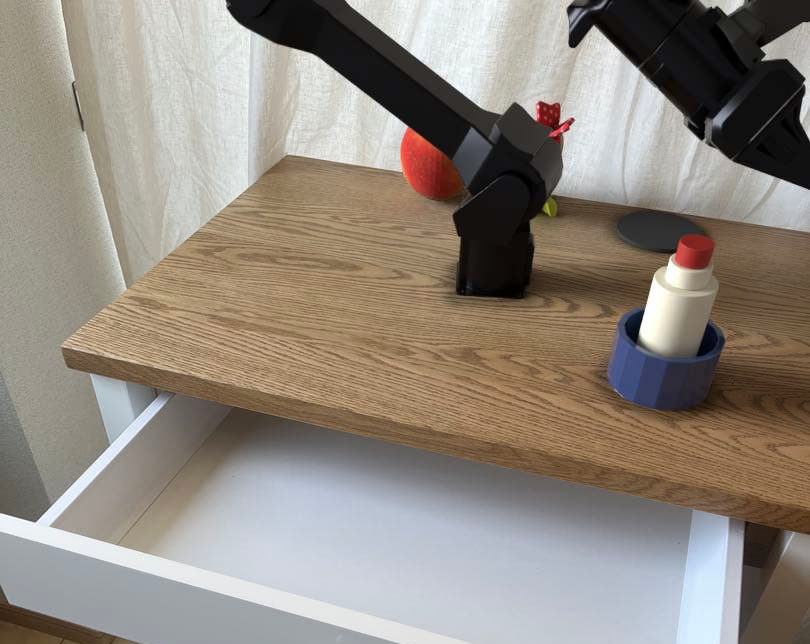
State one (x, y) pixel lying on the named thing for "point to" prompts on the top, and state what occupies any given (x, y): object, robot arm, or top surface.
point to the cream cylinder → (680, 301)
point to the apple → (428, 168)
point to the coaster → (655, 230)
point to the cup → (661, 368)
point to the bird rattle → (551, 118)
